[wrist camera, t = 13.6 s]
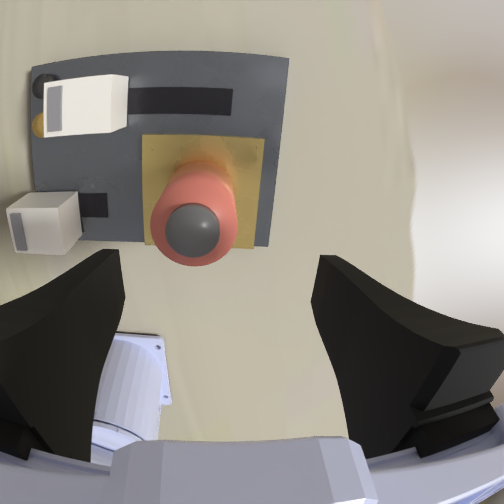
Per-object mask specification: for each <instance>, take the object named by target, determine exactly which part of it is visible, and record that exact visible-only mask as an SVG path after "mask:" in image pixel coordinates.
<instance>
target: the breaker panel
mask: <svg viewBox="0 0 504 504" xmlns="http://www.w3.org/2000/svg"><path fill="white" fill-rule="evenodd" d="M288 66H289V58H283V57H275V56H267V55H257V54H246V53H233V52H215V51H150V52H132V53H119V54H109V55H100V56H91V57H84V58H77V59H70V60H64V61H59V62H53V63H48V64H43V65H38V66H34V67H32V71H31V96H30V122H31V148H32V163H33V174H34V184H35V192H69V191H78V201H79V211H80V219H81V228H82V235H81V237H80V238H79V239H78V240H96V241H127V242H145V245H156V244H155V243H154V240H153V238H152V235H151V230H150V219H151V215H152V211H153V209H154V207H155V205H156V203H157V201H158V200H159V198H160V196H161V194H162V193H163V191H164V189H165V187H166V186H167V184H168V182H169V180H170V179H171V177H172V176H173V174H174V173H175V172H176V171H177V170H178V169H179V168H180V167H182V166H183V165H186V164H188V163H191V162H196V161H205V162H210V163H213V164H215V165H217V166H219V167H220V168H222V169H223V170H224V171H225V172H226V173H227V174H228V176H229V177H230V179H231V181H232V184H233V188H234V196H235V205H236V214H237V223H238V230H237V236H236V239H235V242H234V244H233V246H232V247H231V248H244V249H254V246H264V247H268V243H269V235H270V227H271V219H272V210H273V202H274V193H275V185H276V176H277V167H278V159H279V150H280V141H281V132H282V123H283V114H284V104H285V95H286V85H287V76H288ZM109 74H114V75H121V76H128V77H129V79H128V98H127V126H126V127H124V128H121V129H119V130H116V131H114V132H111V133H95V134H80V135H67V136H55V137H45V138H44V83H47V82H53V81H59V80H66V79H73V78H81V77H89V76H98V75H109Z"/></svg>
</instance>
